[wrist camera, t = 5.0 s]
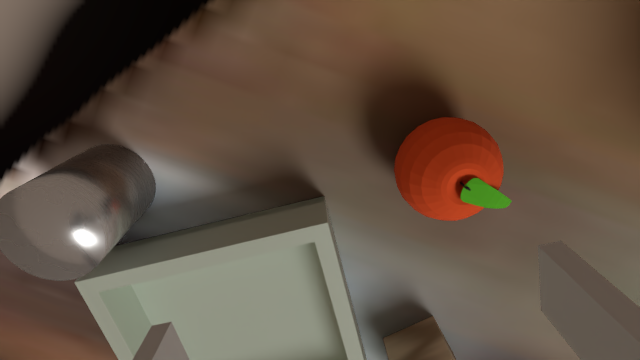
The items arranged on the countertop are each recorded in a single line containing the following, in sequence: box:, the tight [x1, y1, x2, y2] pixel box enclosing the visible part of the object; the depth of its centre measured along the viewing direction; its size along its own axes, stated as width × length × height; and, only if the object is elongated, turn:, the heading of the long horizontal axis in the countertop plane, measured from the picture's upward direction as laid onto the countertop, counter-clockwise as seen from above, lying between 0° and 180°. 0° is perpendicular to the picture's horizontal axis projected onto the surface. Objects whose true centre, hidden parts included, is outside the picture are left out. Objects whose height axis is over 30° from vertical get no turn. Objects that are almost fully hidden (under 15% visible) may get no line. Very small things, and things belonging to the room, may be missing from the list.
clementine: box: [394, 117, 511, 221], centre depth 26 cm, size 8×7×7 cm
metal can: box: [0, 144, 156, 281], centre depth 25 cm, size 6×6×8 cm
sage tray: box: [74, 196, 367, 360], centre depth 31 cm, size 18×18×4 cm
